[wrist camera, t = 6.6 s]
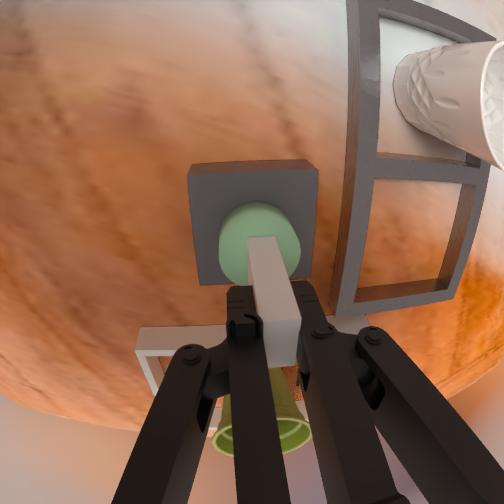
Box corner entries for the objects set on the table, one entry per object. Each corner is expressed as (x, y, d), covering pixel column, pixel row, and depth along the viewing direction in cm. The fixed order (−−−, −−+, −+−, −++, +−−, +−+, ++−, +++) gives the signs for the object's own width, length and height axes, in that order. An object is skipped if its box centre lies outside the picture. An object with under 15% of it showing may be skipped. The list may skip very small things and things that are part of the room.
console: (201, 263, 24) (199, 285, 21) (191, 164, 20) (186, 175, 17) (301, 257, 25) (310, 278, 22) (306, 159, 21) (318, 170, 18)
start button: (221, 252, 22) (221, 291, 18) (217, 191, 20) (215, 220, 16) (284, 248, 22) (298, 286, 18) (286, 188, 20) (302, 216, 16)
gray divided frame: (328, 303, 27) (334, 318, 26) (345, -8, 14) (356, -16, 12) (443, 288, 28) (452, 298, 27) (481, 38, 15) (496, 38, 13)
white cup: (448, 150, 21) (534, 191, 12) (375, 120, 19) (466, 149, 11) (466, 70, 17) (556, 84, 8) (395, 29, 16) (488, 13, 7)
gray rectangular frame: (172, 410, 35) (171, 429, 32) (140, 327, 27) (134, 350, 24) (336, 397, 36) (341, 415, 33) (362, 311, 28) (373, 331, 26)
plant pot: (230, 335, 28) (234, 412, 21) (312, 354, 31) (332, 422, 23) (200, 387, 32) (199, 453, 25) (273, 400, 35) (282, 460, 27)
